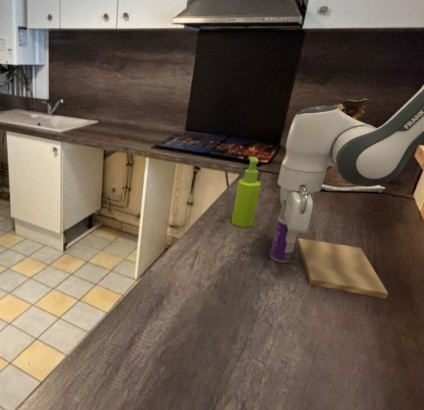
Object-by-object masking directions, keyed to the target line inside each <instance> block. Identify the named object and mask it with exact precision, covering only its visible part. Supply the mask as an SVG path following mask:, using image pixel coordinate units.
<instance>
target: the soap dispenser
mask: <svg viewBox="0 0 424 410" xmlns="http://www.w3.org/2000/svg"><path fill="white" fill-rule="evenodd" d="M247 157H248V159H249V166H248V168H246V169H245V171H244V176H243V178H241V179H238V181H237V182H238V183H237V188H236V193H235V199H234V205H233V210H232V217H231V222H230V223H231V224H233V225H234V226H236V227H240V228H251V227H252V226H253V224H254V219H255V214H256V209H257V204H258V201H259V200H258V199H259V196H260V191H261V185H262V183H261V181H258V176H259V170H258V169H257V164H259V159H258V157H257V156H247Z"/></svg>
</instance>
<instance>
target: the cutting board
mask: <svg viewBox="0 0 424 410" xmlns="http://www.w3.org/2000/svg"><path fill="white" fill-rule="evenodd" d="M297 240H298V241H297V246H298V249H299V253H300V257H301V261H302V263H303V267H304V270H305V273H306V278H307V280H308V284H309V285H312V286H318V287H322V288H327V289H332V290H337V291H342V292H348V293H353V294H358V295H362V296H367V297H368V296H369V297H373V298H376V299H377V298H378V299H382V300H386V299H387V297H388V295H389V292H388V291H387V289H386V287H385V285H384V284H383V282H382V281H381V279H380V277H379V276H378V275H377V274H378V273H376V271H375V269H374V268H373V266H372V264H371V262H370V261H369V259H368V258H367V256H366V254H365V252H364V251H363V249H362V248H361V247H357V246H352V245H346V244H338V243H332V242H325V241H320V240H313V239H306V238H300V237H298V239H297Z"/></svg>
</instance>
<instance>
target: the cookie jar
mask: <svg viewBox="0 0 424 410" xmlns="http://www.w3.org/2000/svg"><path fill="white" fill-rule="evenodd" d="M368 101H369V99H368V98H363V99H361V100H355V99H346V100H343V101H342V102H341V103H340V104H334V105H333V106H335V107H338V108H339V110H341V111H342V112H343V113H345V114H346V115H348V116H350V117H351V118H353V119H355V120H357V121H360V119H361V117H362V116H363V114H365V111H364V110H365V109H366V105H367V104H368ZM385 189H386V187H385V186H381V185H377V186H370V187H364V186H357V185H354V184H351V183H349V182H348V181H346V180H345V179H344V178H343V177H342V176H341V175H340V173H339V171H338V168H337V166H329V167H327V170H326V174H325V178H324V181H323V185H322V189H321V190H325V191H327V192H369V193H370V192H371V193H373V192H374V193H381V194H382V192H383V191H384V190H385Z"/></svg>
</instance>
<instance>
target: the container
mask: <svg viewBox="0 0 424 410" xmlns="http://www.w3.org/2000/svg"><path fill="white" fill-rule="evenodd" d="M286 206H287V203H286V200H284V201H283V203H282V205H281V208H280V210H279V214H278V219H277V223H276V226H275V231H274V236H273V240H272V243H271V248H270V253H269V257H270V259H271V260H273V261H275V262H278V263H289V262H290V261H291V259H292V255H293V252H294V248H295V245H296V241H297V238H296V239H295V242H294V243H287V242H286V239H285V238H286V233H287V232H288V228H287V224H286V220H285V216H284V214H285V210H286ZM301 214H302V213H301Z"/></svg>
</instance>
